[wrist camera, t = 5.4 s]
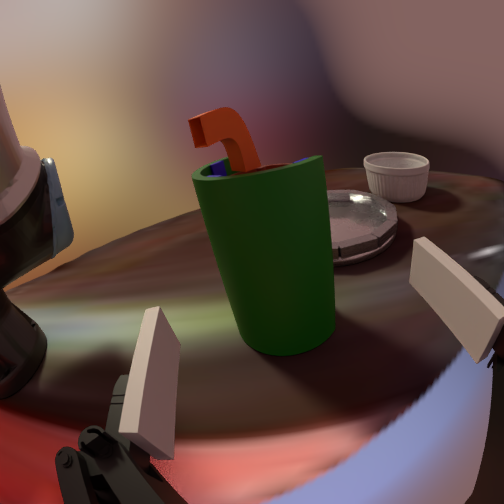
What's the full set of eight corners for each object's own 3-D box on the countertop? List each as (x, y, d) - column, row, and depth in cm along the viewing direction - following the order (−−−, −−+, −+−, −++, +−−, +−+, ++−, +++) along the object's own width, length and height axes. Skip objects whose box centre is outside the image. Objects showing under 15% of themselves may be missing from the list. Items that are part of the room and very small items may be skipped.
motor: (350, 307, 26) (331, 89, 17) (301, 373, 21) (246, 99, 11) (272, 282, 33) (232, 107, 23) (219, 330, 28) (148, 130, 18)
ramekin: (438, 204, 41) (439, 167, 37) (371, 208, 45) (369, 169, 41) (417, 181, 51) (417, 151, 48) (362, 184, 56) (359, 153, 52)
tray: (282, 283, 32) (278, 264, 31) (258, 220, 50) (254, 206, 48) (422, 243, 32) (423, 225, 31) (359, 196, 50) (358, 183, 48)
